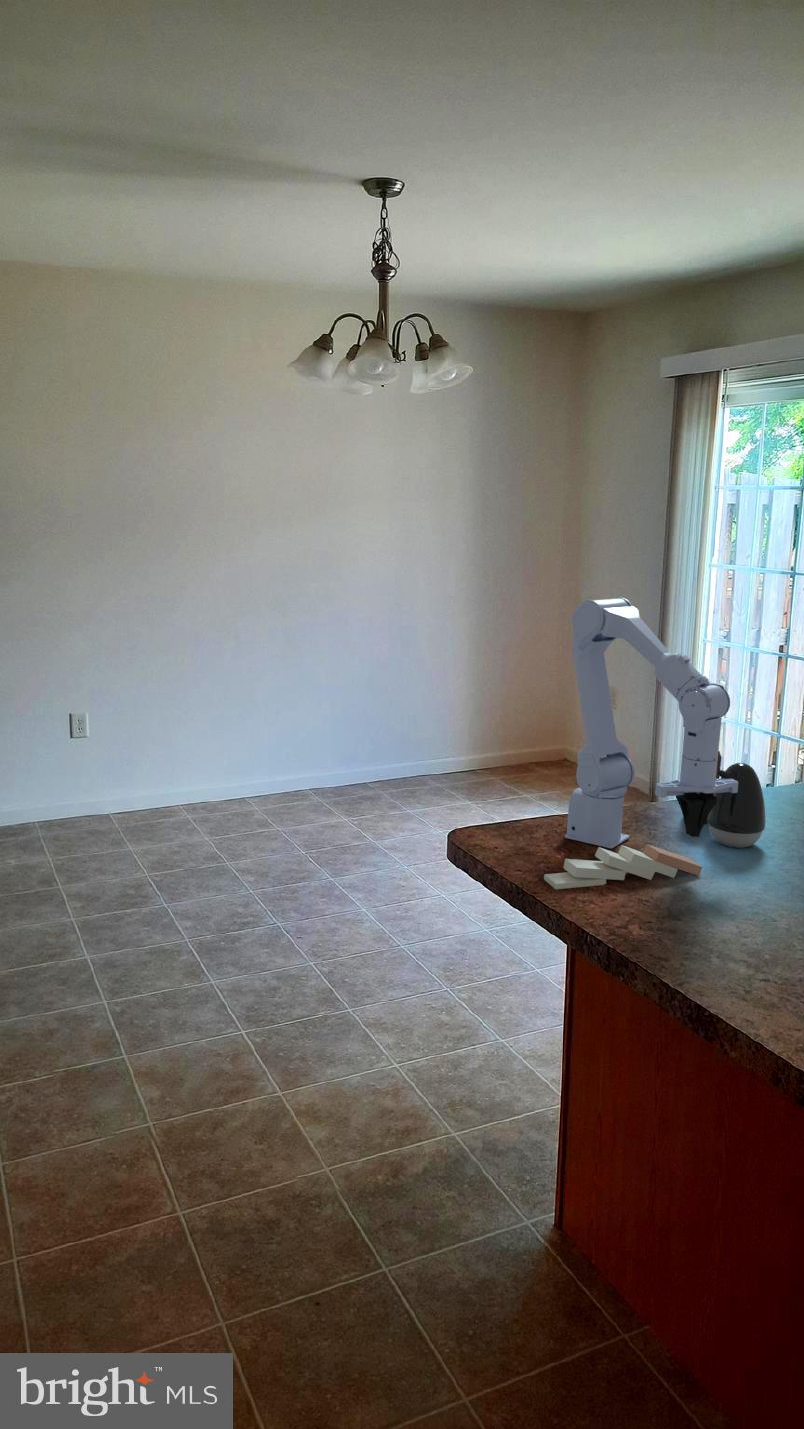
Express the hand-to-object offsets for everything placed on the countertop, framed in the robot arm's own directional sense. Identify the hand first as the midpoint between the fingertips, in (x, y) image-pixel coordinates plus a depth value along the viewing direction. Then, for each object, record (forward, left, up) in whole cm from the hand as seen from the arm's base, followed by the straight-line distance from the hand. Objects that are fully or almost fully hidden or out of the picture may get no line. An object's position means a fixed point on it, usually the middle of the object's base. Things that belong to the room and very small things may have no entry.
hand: (692, 835), depth 177 cm
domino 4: (-2, -3, -6) cm, 7 cm away
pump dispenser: (+1, +19, -7) cm, 21 cm away
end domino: (+1, +1, -6) cm, 6 cm away
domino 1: (-10, -13, -6) cm, 18 cm away
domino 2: (-8, -10, -5) cm, 14 cm away
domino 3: (-5, -7, -6) cm, 10 cm away
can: (-9, +29, -7) cm, 31 cm away
